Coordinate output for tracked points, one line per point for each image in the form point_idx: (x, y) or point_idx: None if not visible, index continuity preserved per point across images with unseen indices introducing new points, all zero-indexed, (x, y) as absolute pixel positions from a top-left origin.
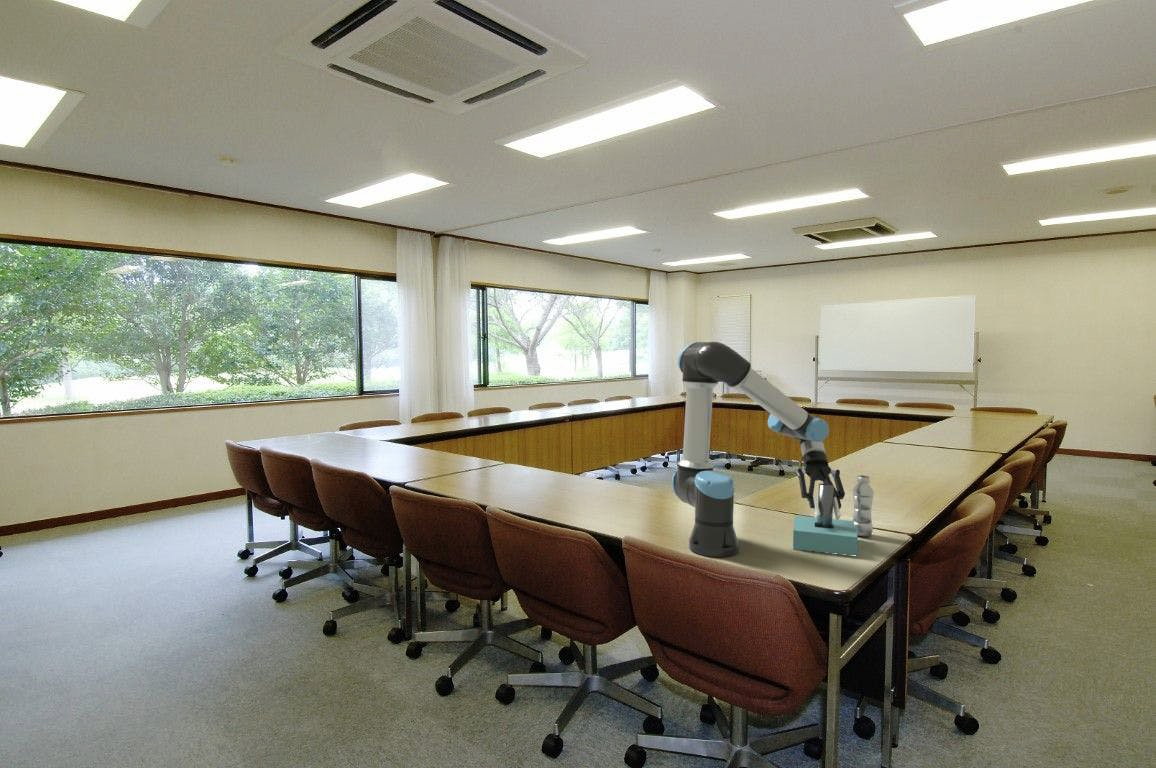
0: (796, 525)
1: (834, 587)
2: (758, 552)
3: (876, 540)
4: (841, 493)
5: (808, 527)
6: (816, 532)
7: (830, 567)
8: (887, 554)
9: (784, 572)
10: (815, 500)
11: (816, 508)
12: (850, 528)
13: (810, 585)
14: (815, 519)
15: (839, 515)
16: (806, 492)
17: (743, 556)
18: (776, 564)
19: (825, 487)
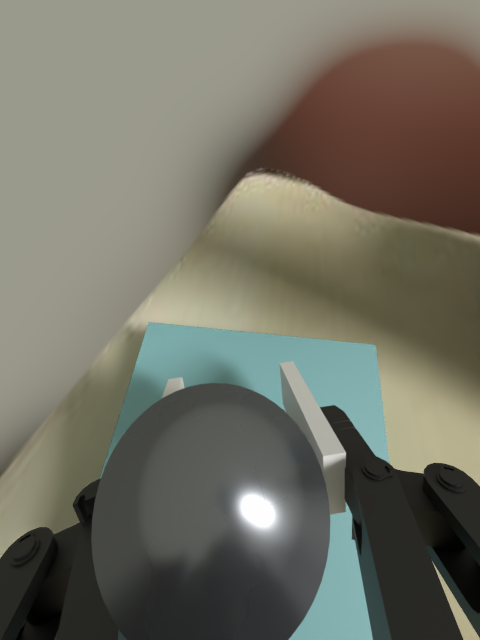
0: (372, 424)
1: (261, 181)
2: (439, 314)
3: None
4: (40, 552)
5: (318, 403)
6: (287, 340)
7: (254, 261)
8: (65, 396)
9: (352, 215)
10: (319, 422)
11: (302, 380)
12: None
13: (301, 179)
14: None
15: (175, 379)
16: (437, 486)
17: (466, 276)
18: (375, 249)
19: (241, 388)
